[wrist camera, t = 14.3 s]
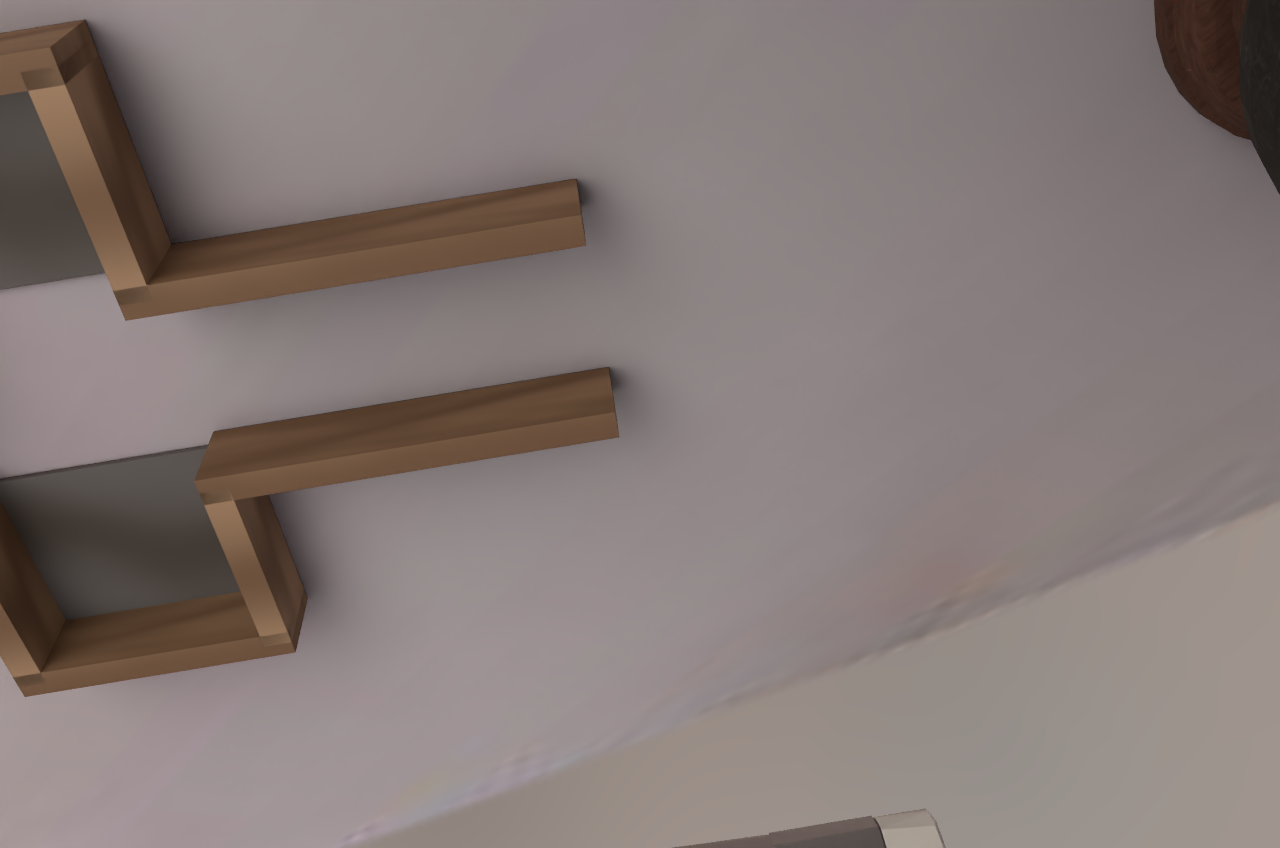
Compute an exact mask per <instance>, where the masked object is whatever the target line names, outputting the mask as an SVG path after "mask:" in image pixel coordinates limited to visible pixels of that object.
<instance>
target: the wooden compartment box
mask: <svg viewBox="0 0 1280 848" xmlns="http://www.w3.org/2000/svg"><path fill="white" fill-rule="evenodd" d="M581 246H586V240H585V233H584V226H583V218H582V211H581V204H580V198H579V193H578V187H577V181H576V179H571V180H565V181H559V182H553V183H546V184H540V185H534V186H528V187H522V188H516V189H509V190H503V191H497V192H491V193H485V194H479V195H472V196H466V197H460V198H454V199H448V200H442V201H436V202H429V203H423V204H417V205H411V206H405V207H399V208H392V209H386V210H380V211H374V212H368V213H362V214H356V215H349V216H343V217H337V218H331V219H325V220H319V221H312V222H306V223H300V224H294V225H288V226H282V227H275V228H269V229H263V230H257V231H251V232H245V233H239V234H232V235H226V236H220V237H214V238H208V239H202V240H195V241H189V242H183V243H177V244H171V242H170V239H169V236H168V234H167V231H166V229H165V226H164V223H163V221H162V218H161V216H160V213H159V210H158V208H157V205H156V203H155V200H154V197H153V195H152V192H151V190H150V187H149V185H148V182H147V179H146V177H145V174H144V172H143V169H142V166H141V164H140V161H139V159H138V156H137V153H136V151H135V148H134V146H133V143H132V140H131V138H130V135H129V133H128V130H127V127H126V125H125V122H124V120H123V117H122V114H121V112H120V109H119V107H118V104H117V101H116V99H115V96H114V94H113V91H112V88H111V86H110V83H109V81H108V78H107V75H106V73H105V70H104V68H103V65H102V62H101V60H100V57H99V55H98V52H97V49H96V47H95V44H94V42H93V39H92V36H91V34H90V31H89V29H88V26H87V23H86V21H85V20H80V21H73V22H67V23H61V24H55V25H48V26H42V27H36V28H30V29H24V30H17V31H11V32H5V33H0V290H2V289H8V288H14V287H20V286H26V285H33V284H39V283H45V282H51V281H57V280H63V279H70V278H76V277H82V276H88V275H94V274H100V273H106V275H107V278H108V280H109V282H110V285H111V287H112V290H113V292H114V294H115V297H116V299H117V301H118V304H119V306H120V308H121V311H122V313H123V315H124V318H125V320H126V321H127V320H133V319H139V318H145V317H151V316H157V315H163V314H170V313H176V312H182V311H188V310H194V309H200V308H206V307H213V306H219V305H225V304H231V303H237V302H243V301H249V300H256V299H262V298H268V297H274V296H280V295H286V294H292V293H299V292H305V291H311V290H317V289H323V288H329V287H335V286H342V285H348V284H354V283H360V282H366V281H372V280H378V279H385V278H391V277H397V276H403V275H409V274H415V273H421V272H428V271H434V270H440V269H446V268H452V267H458V266H464V265H471V264H477V263H483V262H489V261H495V260H501V259H507V258H514V257H520V256H526V255H532V254H538V253H544V252H550V251H557V250H563V249H569V248H575V247H581ZM617 437H619V432H618V425H617V418H616V411H615V404H614V397H613V390H612V385H611V379H610V373H609V367H606V368H600V369H594V370H588V371H582V372H576V373H569V374H563V375H557V376H551V377H545V378H539V379H533V380H527V381H521V382H514V383H508V384H502V385H496V386H490V387H484V388H478V389H472V390H465V391H459V392H453V393H447V394H441V395H435V396H429V397H423V398H417V399H410V400H404V401H398V402H392V403H386V404H380V405H374V406H368V407H362V408H355V409H349V410H343V411H337V412H331V413H325V414H319V415H313V416H306V417H300V418H294V419H288V420H282V421H276V422H270V423H264V424H258V425H251V426H245V427H239V428H233V429H227V430H221V431H215V432H213V434H212V437H211V439H210V442H209V444H208V445H206V446H199V447H193V448H187V449H181V450H175V451H169V452H163V453H157V454H150V455H144V456H138V457H132V458H126V459H120V460H114V461H108V462H102V463H95V464H89V465H83V466H77V467H71V468H65V469H59V470H53V471H47V472H40V473H34V474H28V475H22V476H16V477H10V478H4V479H0V656H1V658H2V660H3V661H4V663H5V665H6V666H7V668H8V670H9V671H10V673H11V675H12V676H13V678H14V680H15V681H16V683H17V685H18V686H19V688H20V690H21V691H22V693H23V695H24V696H25V697H27V696H33V695H39V694H45V693H51V692H57V691H63V690H70V689H76V688H82V687H88V686H94V685H100V684H106V683H112V682H118V681H124V680H130V679H136V678H142V677H148V676H154V675H161V674H167V673H173V672H179V671H185V670H191V669H197V668H203V667H209V666H215V665H221V664H227V663H233V662H239V661H245V660H252V659H258V658H264V657H270V656H276V655H282V654H288V653H294V652H296V648H297V644H298V639H299V635H300V630H301V626H302V621H303V617H304V612H305V608H306V603H307V599H308V598H307V595H306V592H305V590H304V587H303V585H302V582H301V579H300V577H299V574H298V572H297V569H296V566H295V564H294V561H293V559H292V556H291V553H290V551H289V548H288V546H287V543H286V540H285V538H284V535H283V533H282V530H281V527H280V525H279V522H278V520H277V517H276V514H275V512H274V509H273V507H272V504H271V502H270V499H269V496H268V495H269V494H276V493H282V492H288V491H294V490H300V489H306V488H312V487H318V486H324V485H330V484H337V483H343V482H349V481H355V480H361V479H367V478H373V477H379V476H385V475H391V474H398V473H404V472H410V471H416V470H422V469H428V468H434V467H440V466H446V465H452V464H459V463H465V462H471V461H477V460H483V459H489V458H495V457H501V456H507V455H513V454H520V453H526V452H532V451H538V450H544V449H550V448H556V447H562V446H568V445H574V444H581V443H587V442H593V441H599V440H605V439H611V438H617Z"/></svg>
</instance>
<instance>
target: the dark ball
mask: <svg viewBox="0 0 1280 848" xmlns="http://www.w3.org/2000/svg"><path fill="white" fill-rule="evenodd" d="M1154 6H1155V23H1156V37H1157V41H1158V44H1159V48H1160V51H1161V55H1162V59H1163V62H1164V66H1165V68H1166V70H1167V72H1168V74H1169V75H1170V77H1171V79H1172V81H1173V82H1174V84H1175V86H1176V88H1177V90H1178V91H1179V93H1180V94H1181V95H1182V96H1183V97H1184V98H1185V99H1186V100H1187V101H1188V102H1189V103H1190V104H1191V105H1192V107H1193V108H1194V109H1195V110H1196V111H1197V112H1198V113H1199V114H1201V115H1203V116H1204V117H1206V118H1207V119H1209V120H1211V121H1212V122H1214V123H1216V124H1217V125H1219V126H1221V127H1222V128H1224V129H1226V130H1227V131H1229V132H1231V133H1232V134H1234V135H1236V136H1239V137H1242V138H1246V139H1249V140H1251V141H1252V143H1253V145H1254V147H1255V149H1256V151H1257V153H1258V155H1259V157H1260V159H1261V161H1262V163H1263V165H1264V166H1265V168H1266V170H1267V172H1268V174H1269V176H1270V178H1271V179H1272V181H1273V183H1274V185H1275V187H1276V189H1277V191H1278V193H1279V194H1280V0H1154Z"/></svg>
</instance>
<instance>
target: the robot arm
mask: <svg viewBox="0 0 1280 848" xmlns="http://www.w3.org/2000/svg"><path fill="white" fill-rule="evenodd" d="M674 848H946V847H945V845H944V842H943V839H942V836H941V834H940V831H939V828H938V825H937V822H936V820H935V819H934V817H933V816H932V815H931V814H930V813H929V811H928V810H926V809H920V810H914V811H908V812H902V813H896V814H890V815H884V816H878V817H873V818H872V816H868V817H861V818H855V819H849V820H843V821H838V822H831V823H826V824H819V825H814V826H808V827H802V828H796V829H790V830H784V831H778V832H772V833H769V835H761V836H754V837H746V838H739V839H732V840H725V841H717V842H711V843H704V844H696V845H689V846H682V847H674Z"/></svg>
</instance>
